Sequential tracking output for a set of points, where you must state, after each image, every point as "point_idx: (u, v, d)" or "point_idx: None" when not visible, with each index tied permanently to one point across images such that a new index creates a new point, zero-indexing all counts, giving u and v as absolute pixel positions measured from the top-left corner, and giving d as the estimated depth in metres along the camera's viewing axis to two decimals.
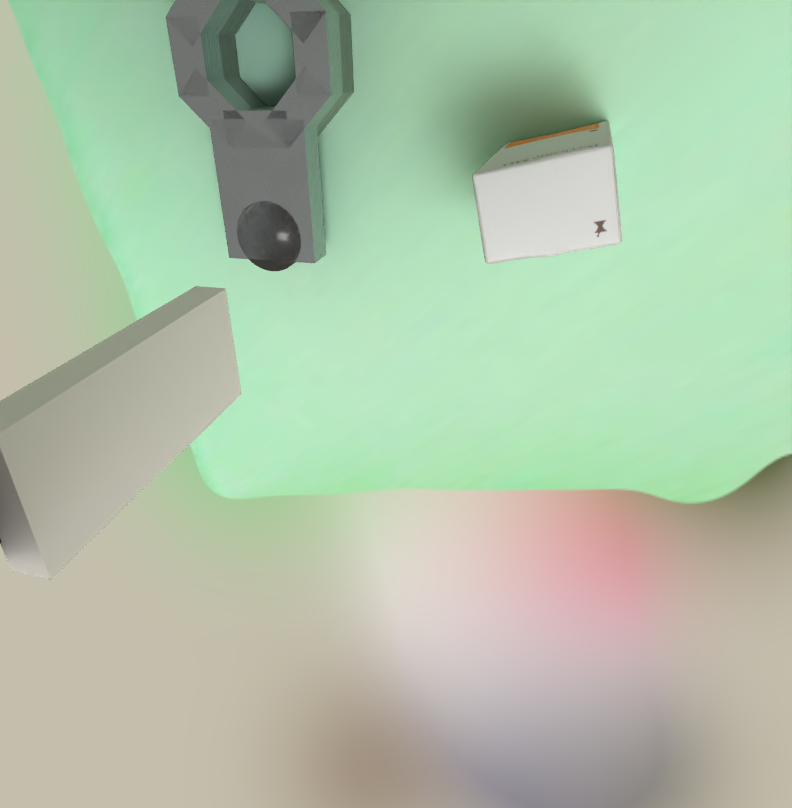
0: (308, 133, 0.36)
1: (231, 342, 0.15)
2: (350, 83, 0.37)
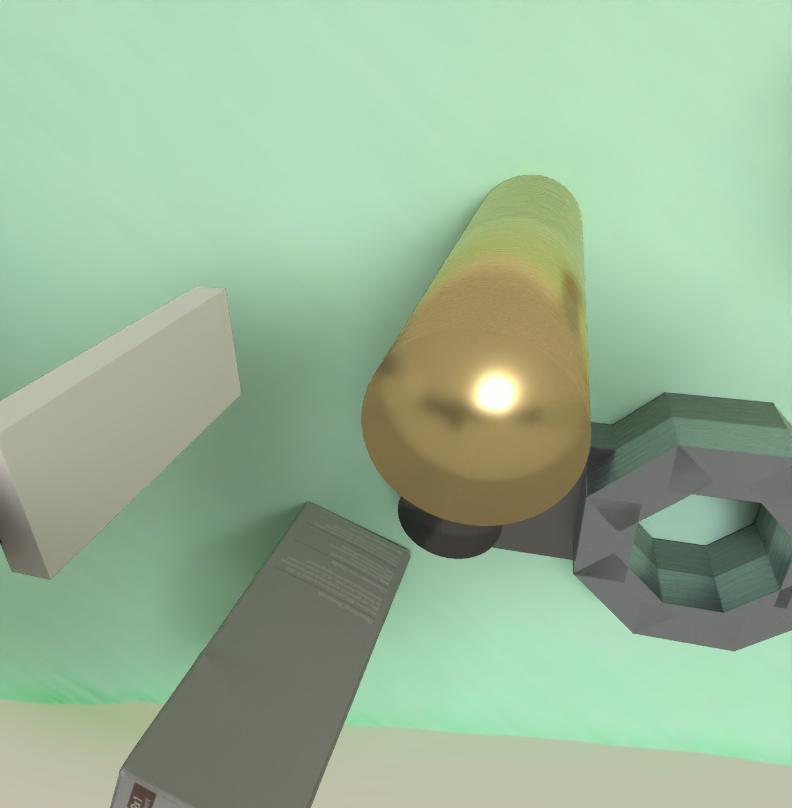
0: None
1: (231, 342, 0.15)
2: (762, 407, 0.24)
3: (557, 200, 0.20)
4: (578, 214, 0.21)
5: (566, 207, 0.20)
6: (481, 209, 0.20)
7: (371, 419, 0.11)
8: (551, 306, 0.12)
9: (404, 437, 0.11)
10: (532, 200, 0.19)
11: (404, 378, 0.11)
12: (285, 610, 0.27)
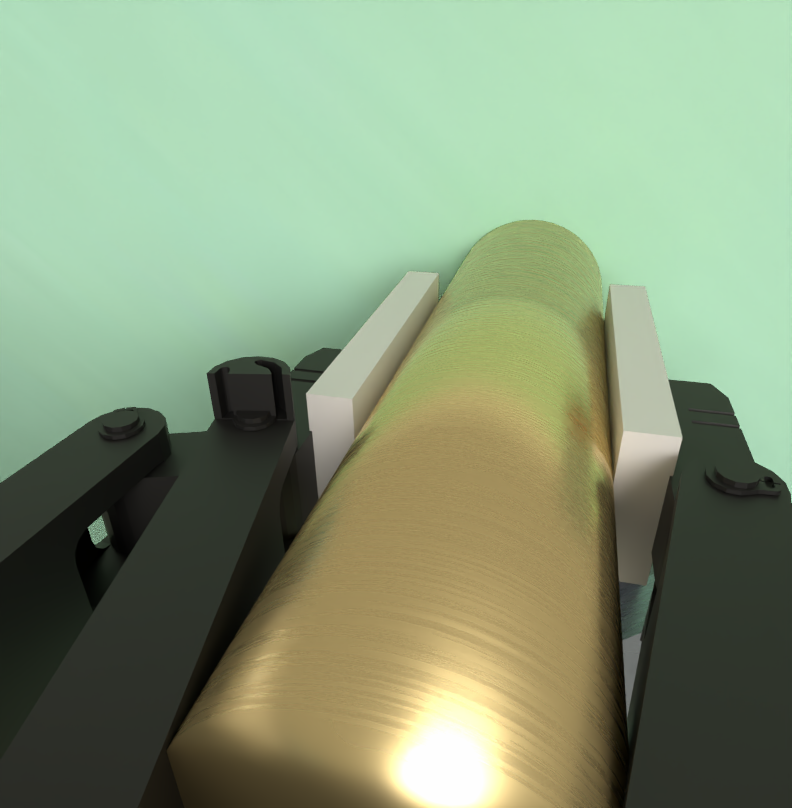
0: None
1: None
2: None
3: (568, 265, 0.14)
4: (597, 278, 0.16)
5: (581, 274, 0.14)
6: (460, 276, 0.14)
7: None
8: (552, 564, 0.06)
9: None
10: (531, 270, 0.13)
11: (222, 773, 0.05)
12: None
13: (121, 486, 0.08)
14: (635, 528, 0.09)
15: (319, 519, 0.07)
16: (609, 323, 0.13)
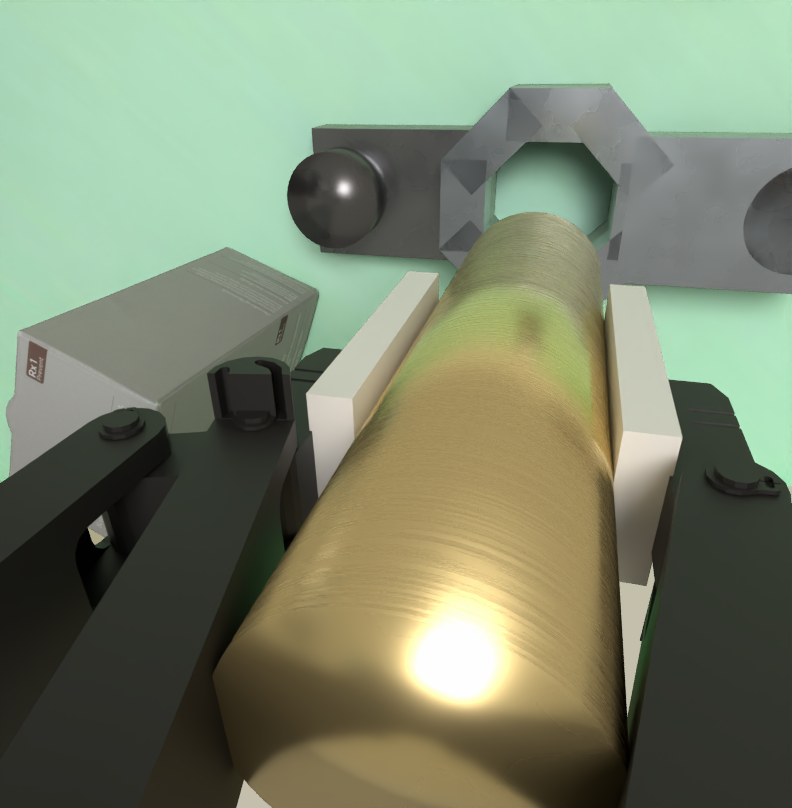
0: (657, 135, 0.25)
1: None
2: (598, 84, 0.27)
3: (569, 253, 0.15)
4: (596, 267, 0.16)
5: (581, 262, 0.15)
6: (467, 264, 0.15)
7: (227, 718, 0.06)
8: (557, 503, 0.07)
9: (286, 751, 0.06)
10: (534, 257, 0.14)
11: (274, 672, 0.06)
12: (189, 291, 0.30)
13: (121, 486, 0.08)
14: (635, 528, 0.09)
15: (347, 469, 0.07)
16: (609, 323, 0.13)
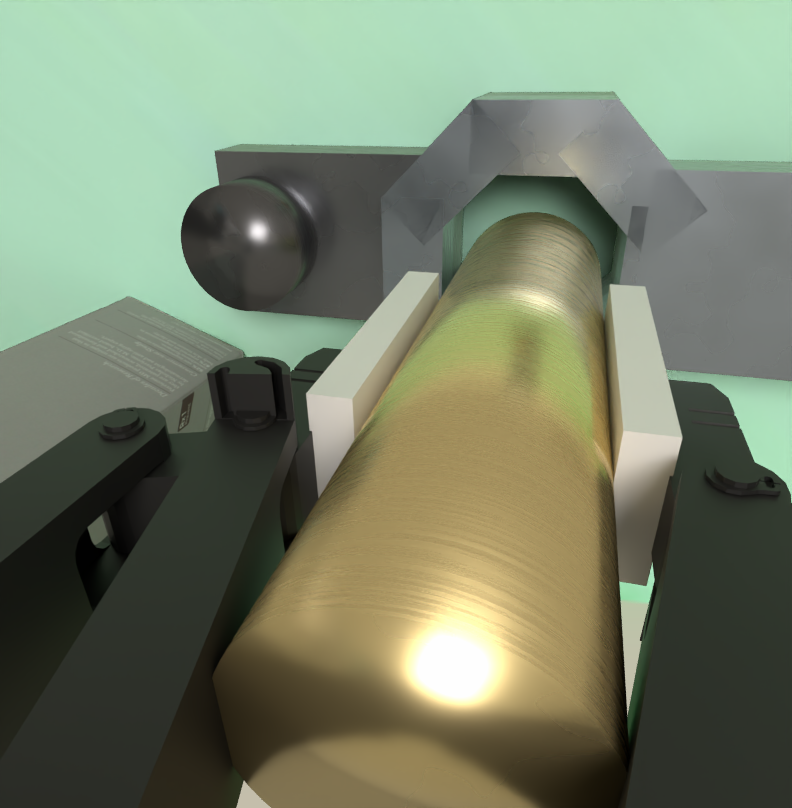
0: (683, 166, 0.18)
1: None
2: (598, 92, 0.20)
3: (569, 253, 0.15)
4: (596, 267, 0.16)
5: (581, 262, 0.15)
6: (466, 264, 0.15)
7: (227, 719, 0.06)
8: (557, 504, 0.07)
9: (286, 752, 0.06)
10: (534, 257, 0.14)
11: (273, 673, 0.06)
12: (52, 369, 0.23)
13: (121, 486, 0.08)
14: (635, 528, 0.09)
15: (347, 470, 0.07)
16: (609, 323, 0.13)
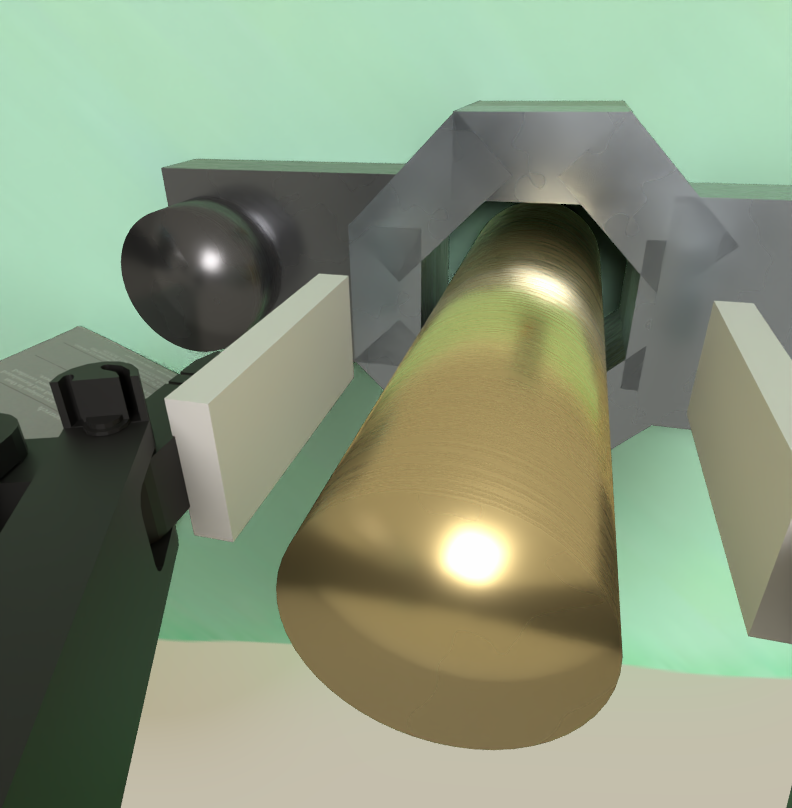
0: (709, 192, 0.15)
1: (349, 327, 0.15)
2: (606, 102, 0.17)
3: (570, 236, 0.16)
4: (596, 250, 0.18)
5: (581, 245, 0.16)
6: (476, 246, 0.16)
7: (291, 600, 0.08)
8: (561, 427, 0.08)
9: (339, 627, 0.08)
10: (539, 239, 0.15)
11: (333, 553, 0.07)
12: None
13: None
14: None
15: (383, 406, 0.09)
16: (723, 345, 0.12)
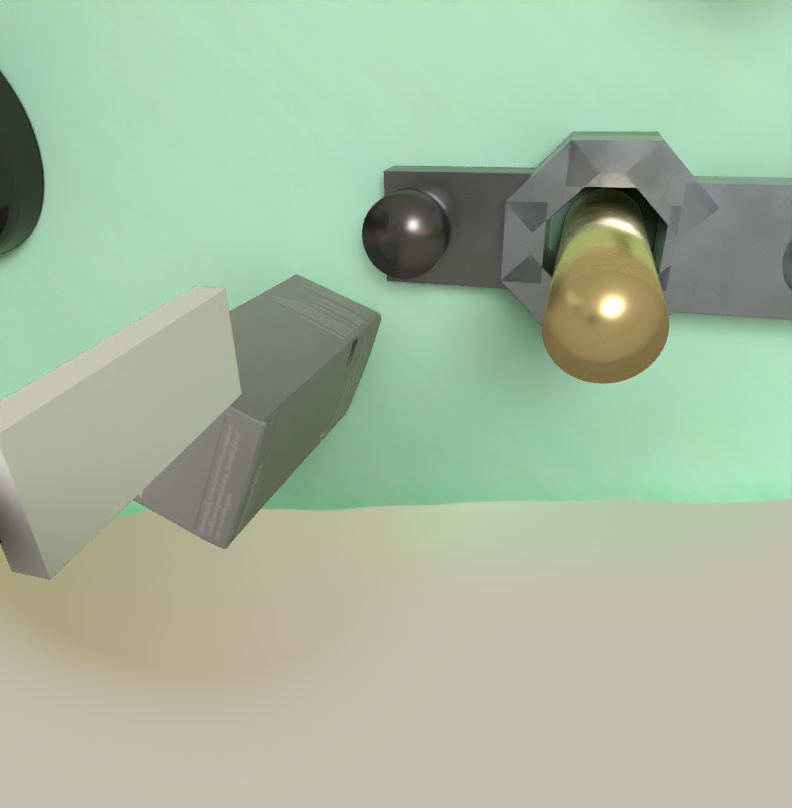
0: (704, 181, 0.28)
1: (231, 342, 0.15)
2: (647, 132, 0.30)
3: (629, 206, 0.30)
4: None
5: (635, 210, 0.30)
6: (577, 212, 0.30)
7: (548, 322, 0.21)
8: (644, 263, 0.22)
9: (565, 332, 0.21)
10: (614, 206, 0.29)
11: (569, 298, 0.21)
12: (272, 318, 0.34)
13: None
14: None
15: (570, 262, 0.22)
16: None
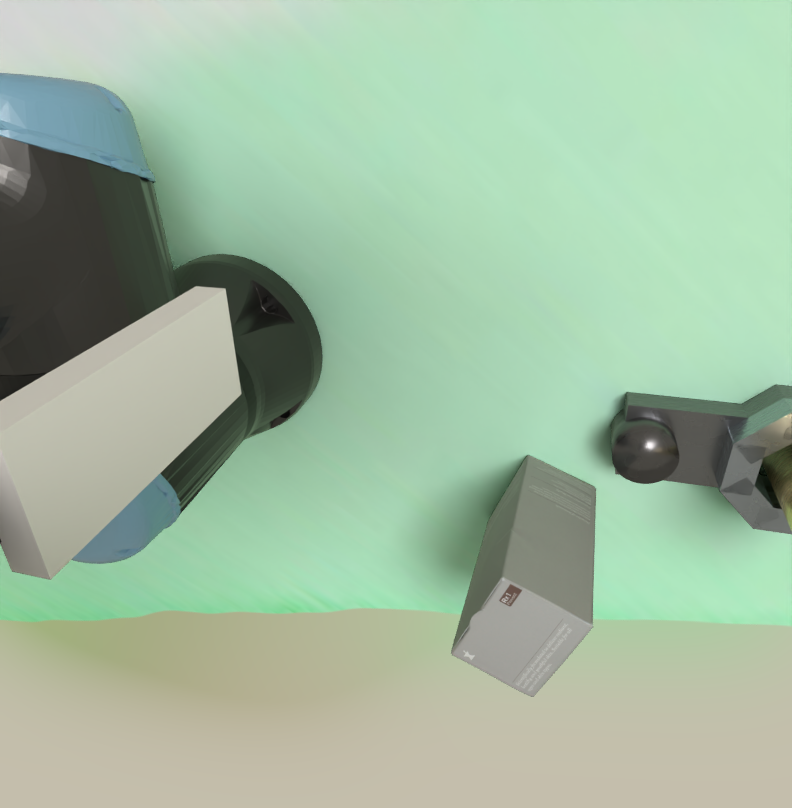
0: None
1: (231, 342, 0.15)
2: None
3: None
4: None
5: None
6: (787, 453, 0.42)
7: None
8: None
9: None
10: None
11: None
12: (543, 513, 0.45)
13: None
14: None
15: None
16: None
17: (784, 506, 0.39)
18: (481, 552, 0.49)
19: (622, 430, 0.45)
